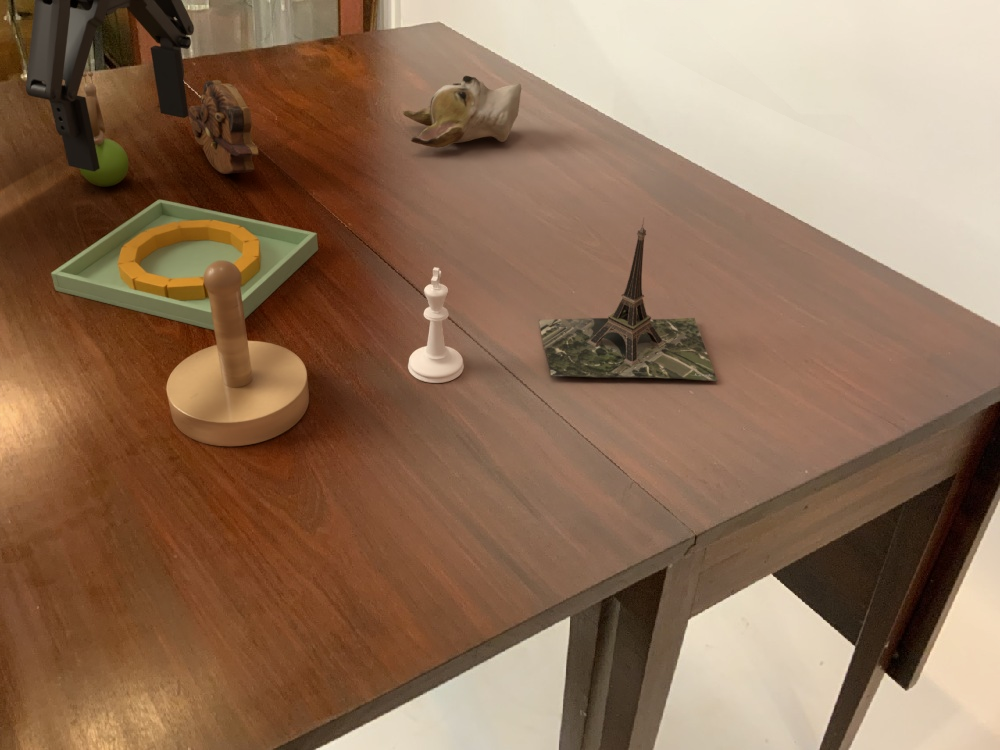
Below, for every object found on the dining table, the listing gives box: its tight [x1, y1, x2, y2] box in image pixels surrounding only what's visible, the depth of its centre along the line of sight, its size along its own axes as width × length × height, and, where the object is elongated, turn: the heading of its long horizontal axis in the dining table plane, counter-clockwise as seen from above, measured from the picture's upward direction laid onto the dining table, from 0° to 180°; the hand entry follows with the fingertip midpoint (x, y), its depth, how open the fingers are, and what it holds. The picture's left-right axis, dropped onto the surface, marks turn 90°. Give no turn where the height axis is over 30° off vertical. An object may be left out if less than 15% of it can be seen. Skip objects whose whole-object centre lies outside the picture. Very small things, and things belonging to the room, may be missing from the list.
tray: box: [50, 199, 319, 331], centre depth 97 cm, size 19×17×2 cm
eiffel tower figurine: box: [538, 217, 718, 382], centre depth 86 cm, size 15×10×13 cm
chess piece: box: [407, 266, 465, 384], centre depth 83 cm, size 5×5×10 cm
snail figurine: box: [78, 71, 130, 188], centre depth 109 cm, size 5×6×12 cm
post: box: [166, 260, 310, 447], centre depth 77 cm, size 11×11×13 cm
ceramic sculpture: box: [402, 75, 522, 148], centre depth 125 cm, size 11×9×15 cm
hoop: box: [118, 220, 261, 301], centre depth 97 cm, size 13×13×2 cm
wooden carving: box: [188, 79, 259, 175], centre depth 114 cm, size 16×5×10 cm, turn 38°
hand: (132, 139), depth 91 cm, fingers open, 13 cm apart
